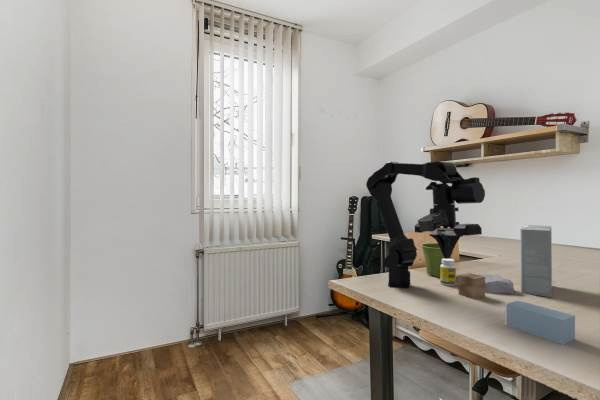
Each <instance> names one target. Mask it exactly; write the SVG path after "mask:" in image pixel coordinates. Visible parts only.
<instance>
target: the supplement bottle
mask: <svg viewBox="0 0 600 400" xmlns="http://www.w3.org/2000/svg"><path fill="white" fill-rule="evenodd" d="M455 261H456V260H455V259H453V258H451V259H445V258H444V259H442V264H441V266H440V277H439V282H440V284H441V285H442V286H443V285H444V286H447V287H448V286H449V287H451V286H456V282H457V281H456V280H457V279H456V278H457V271H456V269H457V267H456V265H455V264H456V262H455Z"/></svg>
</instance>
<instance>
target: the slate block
mask: <svg viewBox="0 0 600 400" xmlns="http://www.w3.org/2000/svg"><path fill="white" fill-rule="evenodd" d="M504 306H505V307H504V309H505V310H504V314H505V315H504V317H505V318H504V325H505V326H508V327H510V328H513V329H515V330H519V331H522V332H524V333H528V334H530V335H533V336H536V337H539V338H542V339H545V340H548V341H551V342H553V343H557V344H559V345H562V346H564V345H567V344H568V343H572V342H573V341H575V340H576V315H574V314H570V313H567V312H562V311H559V310H557V309H553V308H552V309H551V308H548V307H544V306H541V305H538V304H533V303H529V302H526V301H522V300H520V299H516V300H512V301H509V302H505V304H504Z"/></svg>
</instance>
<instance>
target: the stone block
mask: <svg viewBox="0 0 600 400" xmlns="http://www.w3.org/2000/svg"><path fill="white" fill-rule="evenodd" d="M477 275H480V276H484V277H485V294H489V293H490V294H510V293H511V294H514V292H515V290H514V289H515V287H514V286H515V284H514V282H513V281H512V280H511V279H509V278H504V277H502V276H501V275H500V274H488V273H478V274H477Z"/></svg>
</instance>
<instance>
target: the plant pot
mask: <svg viewBox="0 0 600 400" xmlns="http://www.w3.org/2000/svg"><path fill="white" fill-rule="evenodd" d="M420 247H421V248H422V252H423V256H424V262H425V268H426V274H427V275H428V276H430V275H431V276H433V277H435V278H440V266H441V264H442V259H444V256H443V254H442V251H441V249H440V247H439V245H438V243H437V242H429V243H428V242H426V243H421V244H420ZM455 248H456V246H455V247H454V249H455ZM453 252H454V250H453V251H452V254H451V256H450V258H449V259H452V255H453Z"/></svg>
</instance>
